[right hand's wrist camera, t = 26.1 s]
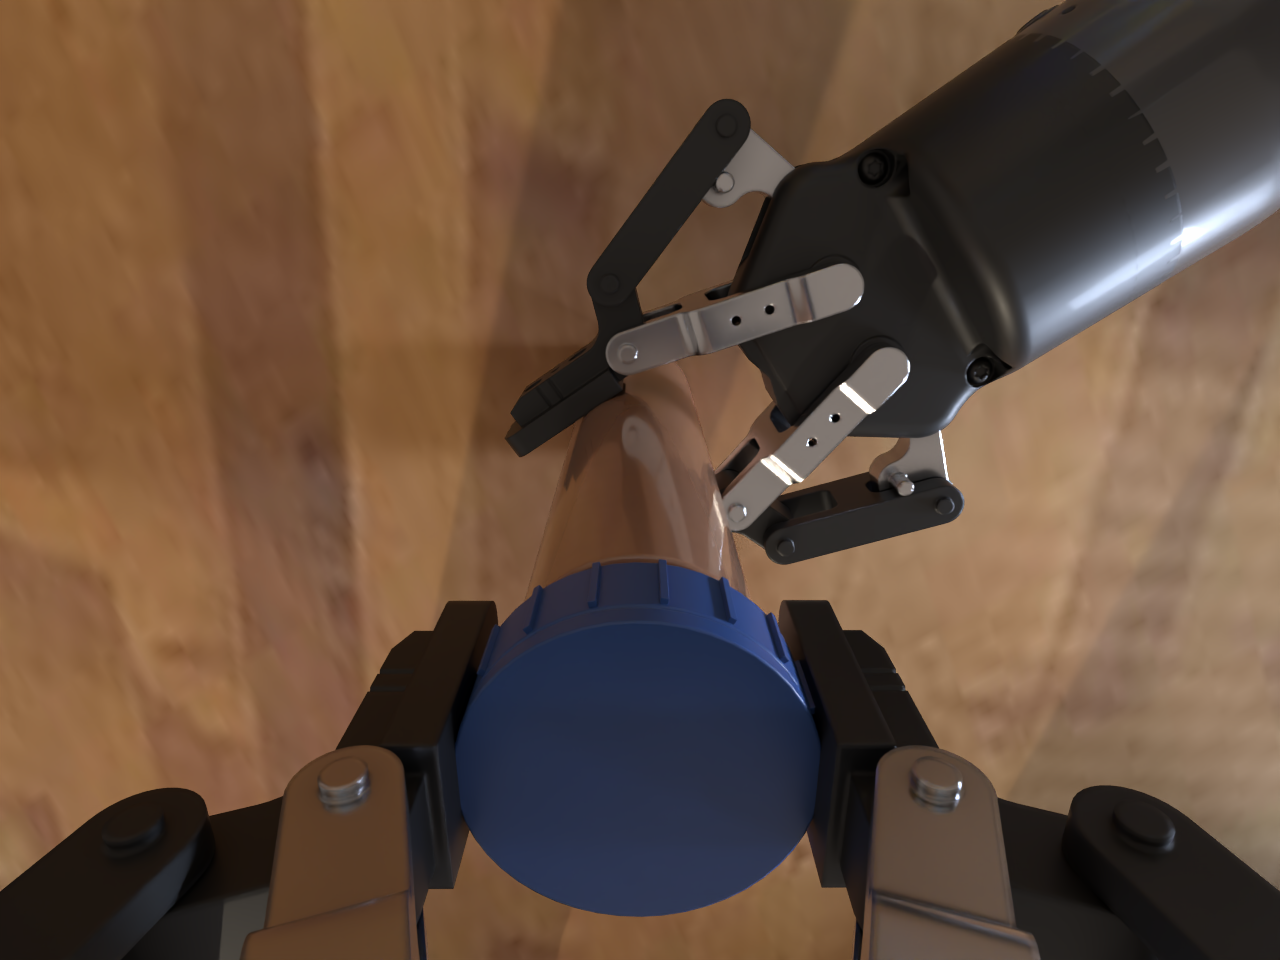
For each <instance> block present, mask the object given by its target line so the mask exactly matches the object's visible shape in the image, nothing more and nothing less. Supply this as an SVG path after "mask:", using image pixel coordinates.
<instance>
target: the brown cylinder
mask: <svg viewBox="0 0 1280 960" xmlns="http://www.w3.org/2000/svg"><path fill="white" fill-rule="evenodd" d="M659 559H663V560H666V561H667V565H672V566H678V567H682V568H686V569H689V570H693V571H696V572H700V573H702V574H705V575H707V576H709V577H712V578H714V579H716V580H720V578H721V577H724V578H726V579H728V581H729V586H730V587H732V588H733V589H735V590H737V591H738V592H740V593H742V594H743V595H744V596H745V597H747V598H748V599H749V600H751V598H750V594H749V591H748V587H747V584H746V580H745V577H744V574H743V570H742V567H741V563H740V560H739V556H738V553H737V549H736V546H735V542H734V539H733V535H732V532H731V528H730V525H729V522H728V518H727V515H726V511H725V508H724V504H723V501H722V497H721V494H720V490H719V487H718V483H717V480H716V477H715V473H714V470H713V466H712V463H711V459H710V456H709V452H708V449H707V445H706V442H705V438H704V435H703V432H702V428H701V425H700V421H699V418H698V414H697V411H696V407H695V404H694V400H693V397H692V393H691V390H690V387H689V383H688V380H687V378H686V376H685V374H684V373H683V371H682V369H681V368H680V367H679V366H678V365H677V363H675V362H674V361H673V362H670V363H667V364H664V365H661V366H658V367H655V368H652V369H649V370H646V371H643V372H640V373H637V374H634V375H629V376H627V377H626V378H624V379H623V390H622V391H621V392H619V393H618V394H616V395H615V396H613V397H612V398H610V399H609V400H607V401H606V402H604V403H602V404H600V405H599V406H597V407H596V408H594V409H593V410H592V411H591V412H589V413H588V414H586V415H585V416H583V417H582V418H580V419H579V420H578V421H576V422H575V426H574V429H573V433H572V436H571V440H570V443H569V447H568V450H567V454H566V457H565V461H564V464H563V468H562V471H561V475H560V478H559V482H558V485H557V489H556V492H555V496H554V499H553V503H552V506H551V510H550V513H549V517H548V520H547V524H546V527H545V531H544V534H543V538H542V541H541V545H540V548H539V552H538V555H537V559H536V562H535V566H534V569H533V573H532V576H531V580H530V583H529V587H528V590H527V594H526V597H525V601H526V600H527V599H528V598H530V597H531V596H532V593H533V589H534V588H535V587H537V586H538V585H540V586H541V587H542V588H545V587H546V586H548V585H550V584H552V583H554V582H556V581H558V580H560V579H562V578H565V577H567V576H569V575H572V574H575V573H578V572H581V571H584V570H587V569H590V568H592V564H593V563H596V562H600V564H601V566H605V565H610V564H618V563H632V562H641V563H658V560H659ZM525 601H524V602H525Z"/></svg>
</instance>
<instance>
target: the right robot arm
mask: <svg viewBox="0 0 1280 960" xmlns="http://www.w3.org/2000/svg"><path fill="white" fill-rule="evenodd" d="M495 624H496V625H498V617H497V609H496V605H495V602H494V601H448V602H447V604H446V606H445V608H444V610H443V612H442V614H441V616H440V618H439V620H438V622H437V624H436V626H435V628H434V631H414V632H413V633H411V634H410V635H409V636H407V637H406V638H405V639H404V640H402V641H401V642H400V643H399V644H397V645H396V646H395V647H394V648H392V649H391V651H390V653H389V655H388V656H387V658H386V660H385V662H384V664H383V665H382V667H381V669H380V674H377V676H376V678H375V680H374V681H373V683H372V685H371V687H370V692H367V694H366V696H365V698H364V699H363V701H362V703H361V705H360V707H359V708H358V710H357V712H356V714H355V716H354V717H353V719H352V721H351V723H350V724H349V726H348V728H347V730H346V732H345V733H344V735H343V737H342V739H341V741H340V742H339V744H338V746H337V748H336V750H335V751H332V752H329V753H326V754H324V755H322V756H320V757H318V758H316V759H315V760H313V761H311V762H310V763H308V764H307V765H306V766H304V767H303V768H302V769H301V770H300V771H299V772H298V773H297V774H296V775H295V776H294V777H293V778H292V779H291V781H290V782H289V783H288V785H287V787H286V789H285V791H284V795H283V796H282V797H280V798H277V799H274V800H272V801H269V802H265V803H262V804H258V805H254V806H250V807H246V808H242V809H237V810H233V811H229V812H225V813H220V814H216V815H212V816H209V815H208V811H207V807H206V804H205V802H204V800H203V799H202V797H201V796H200V795H198V794H197V793H195V792H194V791H191V790H188V789H183V788H162V789H155V790H150V791H146V792H142V793H139V794H136V795H133V796H131V797H128V798H126V799H123V800H121V801H119V802H117V803H115V804H113V805H111V806H109V807H107V808H106V809H104V810H103V811H101V812H99V813H98V814H96V815H95V816H94V817H92V818H91V819H90V820H88V821H87V822H86V823H84V824H83V825H82V826H81V827H80V828H78V829H77V830H76V831H75V832H73V833H72V834H71V835H70V836H68V837H67V838H66V839H65V840H63V841H62V842H61V843H60V844H58V845H57V846H56V847H55V848H54V849H52V850H51V851H50V852H49V853H47V854H46V855H45V856H44V857H42V858H41V859H40V860H39V861H37V862H36V863H35V864H34V865H32V866H31V867H30V868H29V869H28V870H26V871H25V872H24V873H23V874H21V875H20V876H19V877H18V878H16V879H15V880H14V881H13V882H11V883H10V884H9V885H8V886H6V887H5V888H4V889H3V890H1V891H0V960H429V959H428V946H427V933H426V925H425V918H424V911H423V905H424V902H425V899H426V895H427V892H428V889H453V888H454V885H455V881H456V877H457V874H458V870H459V866H460V863H461V859H462V855H463V852H464V848H465V844H466V841H467V837H468V833H469V830H470V829H469V828H468V826H467V824H466V822H465V820H464V818H463V815H462V811H461V803H460V794H459V785H458V776H457V766H456V756H455V742H456V738H457V735H458V731H459V728H460V724H461V721H462V718H463V715H464V713H465V710H466V707H467V704H468V701H469V698H470V695H471V692H472V689H473V686H474V684H475V681H476V678H477V675H478V674H477V671H478V668H479V665H480V662H481V659H482V656H483V653H484V650H485V648H486V645H487V642H488V639H489V636H490V633H491V630H492V628H493V627H494V625H495ZM778 627H779V630H780V633H781V634H782V636H783V638H784V640H785V641H786V643H787V645H788V647H789V649H790V651H791V653H792V656H793V659H794V661H797V660H799V662H800V664H801V667H802V670H803V673H804V676H805V679H806V682H807V685H808V688H809V690H810V693H811V696H812V699H813V702H814V705H815V713H814V714H812V716H813V719H814V722H815V725H816V728H817V731H818V734H819V736H820V740H821V752H820V763H819V772H818V781H817V791H816V800H815V809H814V817H813V819H812V821H811V823H810V825H809V827H808V828H807V834H808V838H809V841H810V845H811V849H812V853H813V856H814V860H815V864H816V868H817V872H818V875H819V879H820V883H821V887H846V888H847V891H848V895H849V898H850V901H851V905H852V908H853V911H854V915H855V917H856V918H855V926H854V934H853V947H852V960H1280V891H1278V890H1277V889H1276V888H1275V887H1274V886H1272V885H1271V884H1270V883H1269V882H1267V881H1266V880H1265V879H1264V878H1262V877H1261V876H1260V875H1259V874H1257V873H1256V872H1255V871H1254V870H1252V869H1251V868H1250V867H1249V866H1248V865H1246V864H1245V863H1244V862H1243V861H1241V860H1240V859H1239V858H1238V857H1236V856H1235V855H1234V854H1233V853H1231V852H1230V851H1229V850H1228V849H1226V848H1225V847H1224V846H1223V845H1222V844H1220V843H1219V842H1218V841H1217V840H1215V839H1214V838H1213V837H1212V836H1210V835H1209V834H1208V833H1207V832H1205V831H1204V830H1203V829H1202V828H1200V827H1199V826H1198V825H1197V824H1196V823H1194V822H1193V821H1192V820H1191V819H1189V818H1188V817H1187V816H1185V815H1184V814H1183V813H1181V812H1180V811H1178V810H1177V809H1175V808H1173V807H1172V806H1170V805H1169V804H1167V803H1165V802H1163V801H1161V800H1159V799H1157V798H1155V797H1152V796H1150V795H1147V794H1145V793H1142V792H1139V791H1136V790H1132V789H1128V788H1124V787H1118V786H1093V787H1089V788H1086V789H1083V790H1082V791H1080V792H1078V793H1077V794H1076V796H1075V797H1074V798H1073V800H1072V803H1071V806H1070V810H1069V814H1068V815H1063V814H1059V813H1055V812H1051V811H1046V810H1042V809H1038V808H1034V807H1029V806H1025V805H1021V804H1017V803H1013V802H1010V801H1006V800H1003V799H1001V798H998V797H997V795H996V791H995V789H994V787H993V785H992V783H991V782H990V781H989V779H988V778H987V777H986V776H985V775H984V774H983V773H982V772H981V771H980V770H979V769H978V768H977V767H976V766H974V765H973V764H972V763H970V762H969V761H967V760H965V759H964V758H962V757H960V756H958V755H956V754H954V753H951V752H948V751H945V750H942V749H939V747H938V745H937V743H936V742H935V740H934V738H933V736H932V734H931V732H930V731H929V729H928V727H927V725H926V723H925V722H924V720H923V718H922V716H921V714H920V712H919V711H918V709H917V707H916V705H915V703H914V702H913V700H912V698H911V696H910V694H909V692H908V691H906V690H905V685H904V683H903V682H902V680H901V678H900V676H899V674H898V673H896V669H895V667H894V665H893V663H892V662H891V660H890V658H889V656H888V654H887V652H886V651H885V649H884V648H883V647H882V646H881V645H879V644H878V643H877V642H876V641H874V640H873V639H872V638H871V637H869V636H868V635H867V634H866V633H864V632H863V631H862V630H842V628H841V626H840V624H839V622H838V620H837V618H836V615H835V613H834V611H833V609H832V607H831V605H830V603H829V602H828V601H827V600H783V601H782V602H781V605H780V611H779V622H778Z"/></svg>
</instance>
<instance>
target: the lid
mask: <svg viewBox="0 0 1280 960" xmlns="http://www.w3.org/2000/svg"><path fill="white" fill-rule="evenodd" d="M477 674H478V675H477V678H476V681H475V684H474V686H473V689H472V692H471V695H470V698H469V701H468V704H467V707H466V710H465V713H464V715H463V718H462V721H461V724H460V728H459V731H458V735H457V738H456V742H455V756H456V766H457V776H458V785H459V794H460V803H461V811H462V815H463V818H464V820H465V822H466V824H467V826H468V828H469V829H470V831H471V833H472V835H473V836H474V838H475V840H476V841H477V842H478V843H479V845H480V846H481V847H482V849H483V850H484V851H485V852H486V854H487V855H488V856H489V857H490V858H491V859H492V860H493V861H494V862H495V863H496V864H497V865H498V866H499V867H500V868H501V869H503V870H504V871H505V872H506V873H508V874H509V875H510V876H512V877H513V878H514V879H516V880H517V881H518V882H520V883H522V884H523V885H525V886H527V887H528V888H530V889H532V890H533V891H535V892H537V893H539V894H541V895H543V896H545V897H548V898H550V899H552V900H554V901H556V902H559V903H562V904H565V905H568V906H571V907H574V908H578V909H582V910H586V911H591V912H595V913H601V914H608V915H616V916H636V917H645V916H661V915H669V914H675V913H681V912H687V911H691V910H695V909H698V908H702V907H706V906H709V905H712V904H714V903H717V902H720V901H722V900H725V899H727V898H729V897H731V896H733V895H735V894H737V893H739V892H741V891H743V890H745V889H747V888H749V887H750V886H752V885H753V884H755V883H756V882H758V881H759V880H761V879H763V878H764V877H765V876H766V875H768V874H769V873H770V872H771V871H772V870H774V869H775V868H776V867H777V866H778V865H780V864H781V863H782V861H783V860H784V859H785V858H786V857H787V856H788V855H789V854H790V853H791V852H792V851H793V850H794V848H795V847H796V845H797V844H798V843H799V841H800V840H801V838H802V837H803V836H804V834H805V832H806V830H807V828H808V827H809V825H810V823H811V821H812V819H813V817H814V809H815V800H816V791H817V781H818V772H819V763H820V752H821V740H820V736H819V734H818V731H817V728H816V725H815V722H814V719H813V716H812V714H814V713H815V705H814V702H813V699H812V696H811V693H810V690H809V688H808V685H807V682H806V679H805V676H804V673H803V670H802V667H801V664H800V662H799V660H797V661H794V659H793V656H792V653H791V651H790V649H789V647H788V645H787V643H786V641H785V640H784V638H783V636H782V634H781V633H780V630H779V627H778V624H777V621H776V617H775V616H774V615H773V614H772V613H769V614H768V615H766V614H765V613H764V612H763V611H762V610H761V609H760V608H759V607H758V606H757V605H756V604H754V603H753V602H752V601H751V600H749V599H748V598H747V597H745V596H744V595H743V594H742V593H740V592H738V591H737V590H735V589H733V588H732V587H730V586H729V581H728V579H726V578H724V577H721V578H720V580H716V579H714V578H712V577H709V576H707V575H705V574H702V573H700V572H696V571H693V570H689V569H686V568H682V567H678V566H672V565H667V561H666V560H663V559H659V560H658V563H641V562H632V563H618V564H610V565H605V566H601V564H600V562H596V563H593V564H592V568H590V569H587V570H584V571H581V572H578V573H575V574H572V575H569V576H567V577H565V578H562V579H560V580H558V581H556V582H554V583H552V584H550V585H548V586H546V587H545V588H542V587H541V586H540V585H538V586H537V587H535V588H534V589H533V593H532V596H531V597H530V598H528V599H527V600H526V601H525V602H524V603H522V604H521V605H520V606H519V607H518V608H517V609H515V610H514V612H513V613H512V614H511V615H510V616H509V617H508V618H507V619H506V620H505V622H504V623H503V624H502V625H501V627H500V626H498V625H496V624H495V625H494V627H493V628H492V630H491V633H490V636H489V639H488V642H487V645H486V648H485V650H484V653H483V656H482V659H481V662H480V665H479V668H478V671H477Z"/></svg>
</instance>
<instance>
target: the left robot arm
mask: <svg viewBox="0 0 1280 960" xmlns="http://www.w3.org/2000/svg"><path fill="white" fill-rule="evenodd" d="M748 192H757V193H760V194H762V195H763V196H765V197H766V198H765V200H764V203H763V206H762V208H761V211H760V213H759V216H758V218H757V221H756V223H755V226H754V228H753V231H752V234H751V236H750V239H749V241H748V244H747V246H746V249H745V251H744V254H743V257H742V259H741V262H740V264H739V267H738V269H737V272H736V274H735V277H734V279H733V280H731V281H728V282H725V283H722V284H719V285H716V286H713V287H710V288H707V289H704V290H701V291H698V292H695V293H692V294H689V295H687V296H684V297H682V298H680V299H678V300H677V301H675V302H672V303H669V304H666V305H664V306H661V307H658V308H655V309H652V310H649V311H646V312H643V313H642V310H641V306H640V302H639V298H638V294H637V290H636V286H637V285H638V284H639V282H640V281H641V280H642V278H643V277H644V276H645V274H646V273H647V272H648V270H649V269H650V268H651V266H652V265H653V264H654V262H655V261H656V260H657V258H658V257H659V256H660V255H661V253H662V252H663V251H664V249H665V248H666V247H667V245H668V244H669V243H670V241H671V240H672V239H673V237H674V236H675V235H676V233H677V232H678V231H679V229H680V228H681V227H682V225H683V224H684V223H685V221H686V220H687V219H688V217H689V216H690V215H691V213H692V212H693V211H694V209H695V208H696V207H697V205H698V204H699V203H700V201H702V202H704V203H705V204H706V205H708V206H711V207H716V208H723V207H728V206H730V205H732V204H734V203H735V202H736V201H737V200H738V199H739V198H740V197H741V196H743V195H744V194H746V193H748ZM1278 209H1280V0H1066V1H1065V2H1063V3H1062V4H1060V5H1056V6H1054V7H1052V8H1050V9H1049V10H1045V11H1043V12H1041V13H1040V14H1038V15H1037V16H1035V17H1034V18H1033V19H1031V20H1030V21H1029V22H1028V23H1026V24H1025V25H1024V26H1023V27H1022V28H1021V29H1020V30H1019V31H1018V32H1017V34H1016V35H1015V36H1014V37H1013V38H1012V39H1010V40H1008V41H1007V42H1006V43H1004V44H1003V45H1001V46H1000V47H998V48H997V49H995V50H994V51H993V52H991V53H990V54H988V55H987V56H985V57H984V58H983V59H981V60H980V61H978V62H977V63H975V64H974V65H972V66H971V67H970V68H968V69H967V70H965V71H964V72H962V73H961V74H960V75H958V76H957V77H955V78H954V79H952V80H951V81H950V82H948V83H947V84H945V85H944V86H942V87H941V88H940V89H938V90H937V91H935V92H934V93H932V94H931V95H929V96H928V97H927V98H925V99H924V100H922V101H921V102H919V103H918V104H917V105H915V106H914V107H912V108H911V109H909V110H908V111H906V112H905V113H904V114H902V115H901V116H899V117H898V118H896V119H895V120H894V121H892V122H891V123H889V124H888V125H886V126H885V127H883V128H882V129H881V130H879V131H878V132H876V133H875V134H873V135H872V136H871V137H869V138H868V139H866V140H865V141H863V142H862V143H860V144H859V145H858V146H856V147H855V148H853V149H852V150H850V151H849V152H847V153H845V154H844V155H842V156H840V157H838V158H835V159H833V160H830V161H825V162H812V163H807V164H804V165H799V166H796V167H793V166H792V165H791V164H790V163H789V162H788V161H787V160H786V159H784V158H783V157H782V156H781V155H780V154H779V153H778V152H777V151H775V150H774V149H773V148H772V147H771V146H770V145H769V144H768V143H767V142H765V141H764V140H763V139H762V138H761V137H760V136H759V135H758V134H756V133H755V132H754V131H753V130H752V129H751V121H750V116H749V114H748V112H747V110H746V108H745V107H744V106H743V105H742V104H741V103H739V102H738V101H735V100H732V99H722V100H719V101H717V102H715V103H713V104H712V105H711V106H710V107H709V108H708V109H707V111H706V112H705V113H704V115H703V116H702V117H701V119H700V120H699V121H698V123H697V124H696V125H695V127H694V128H693V129H692V131H691V132H690V134H689V135H688V136H687V138H686V139H685V140H684V142H683V143H682V145H681V146H680V147H679V149H678V150H677V151H676V153H675V154H674V156H673V157H672V158H671V160H670V161H669V162H668V164H667V165H666V167H665V168H664V169H663V171H662V172H661V173H660V175H659V176H658V178H657V179H656V180H655V182H654V183H653V184H652V186H651V187H650V189H649V190H648V191H647V193H646V194H645V195H644V197H643V198H642V200H641V201H640V202H639V204H638V205H637V206H636V208H635V209H634V211H633V212H632V213H631V215H630V216H629V217H628V219H627V220H626V222H625V223H624V224H623V226H622V227H621V228H620V230H619V231H618V233H617V234H616V235H615V237H614V238H613V239H612V241H611V242H610V244H609V245H608V246H607V248H606V249H605V250H604V252H603V253H602V255H601V256H600V257H599V259H598V260H597V261H596V263H595V264H594V266H593V267H592V269H591V270H590V272H589V274H588V278H587V289H588V292H589V294H590V296H591V298H592V301H593V305H594V309H595V313H596V316H597V320H598V325H599V332H598V334H597V336H596V337H595V339H594V340H593V341H592V342H590V343H589V344H588V345H586V346H585V347H583V348H582V349H580V350H579V351H578V352H576V353H575V354H573V355H572V356H570V357H569V358H567V359H566V360H565V361H563V362H562V363H560V364H559V365H557V366H556V367H554V368H553V369H552V370H550V371H549V372H547V373H546V374H544V375H543V376H542V377H540V378H538V379H537V380H536V381H534V382H533V383H531V384H530V385H528V386H527V387H526V389H525V390H524V392H523V393H522V395H521V396H520V398H519V400H518V401H517V403H516V405H515V406H514V408H513V410H512V411H511V415H512V416H513V417H514V419H515V420H516V421H515V422H514V423H513V424H512V426H511V427H510V429H509V431H508V433H507V435H506V436H505V439H506V441H507V442H508V443H509V444H510V446H511V447H512V448H513V450H514V451H515V452H516V453H517V455H518V456H519V457H522V456H525V455H526V454H528V453H530V452H531V451H533V450H534V449H536V448H537V447H539V446H540V445H542V444H543V443H545V442H546V441H548V440H549V439H551V438H552V437H554V436H555V435H557V434H558V433H560V432H561V431H563V430H564V429H566V428H567V427H569V426H570V425H572V424H573V423H575V422H576V421H578V420H579V419H580V418H582V417H583V416H585V415H586V414H588V413H589V412H591V411H592V410H593V409H594V408H596V407H597V406H599V405H600V404H602V403H604V402H606V401H607V400H609V399H610V398H612V397H613V396H615V395H616V394H618V393H619V392H621V391H622V390H623V379H624V378H626V377H627V376H629V375H634V374H637V373H640V372H643V371H646V370H649V369H652V368H655V367H658V366H661V365H664V364H667V363H670V362H673V361H676V360H680V359H683V358H686V357H689V356H693V355H705V354H709V353H713V352H716V351H719V350H722V349H725V348H728V347H731V346H734V345H737V344H738V346H739V347H740V348H741V350H742V351H743V352H744V354H745V355H746V356H747V358H748V359H749V360H750V361H751V362H752V363H753V364H754V365H756V366H757V367H758V368H759V369H760V371H761V374H762V377H763V381H764V384H765V388H766V390H767V391H768V393H769V395H770V396H771V398H772V399H773V401H772V402H771V403H770V405H769V406H768V407H767V408H766V409H765V410H764V411H763V412H762V413H761V414H760V415H759V417H758V418H757V419H756V420H755V421H754V423H753V424H752V426H751V428H750V431H749V433H748V435H747V436H746V437H745V439H744V440H743V441H742V442H741V443H740V444H739V445H738V446H737V447H736V448H735V449H734V450H733V452H732V453H731V454H730V455H729V456H728V457H727V458H726V459H725V460H724V461H723V462H722V463H721V465H720V466H719V467H718V468H717V469H716V470H715V471H714V473H715V477H716V480H717V483H718V487H719V490H720V494H721V497H722V501H723V504H724V508H725V511H726V515H727V518H728V522H729V525H730V528H731V532H735V533H740V534H742V535H744V536H746V537H747V538H749V539H750V540H752V541H753V542H755V543H756V544H758V545H759V546H761V547H762V548H764V549H765V551H766V554H767V556H768V557H769V558H770V559H771V560H772V561H773V562H775V563H777V564H782V565H786V564H791V563H795V562H799V561H803V560H806V559H810V558H814V557H818V556H822V555H826V554H830V553H833V552H837V551H841V550H845V549H849V548H853V547H857V546H860V545H864V544H868V543H872V542H876V541H880V540H884V539H887V538H891V537H895V536H899V535H903V534H907V533H911V532H914V531H918V530H922V529H926V528H930V527H934V526H937V525H941V524H945V523H948V522H951V521H953V520H954V519H956V518H957V517H958V516H959V515H960V514H961V512H962V510H963V508H964V497H963V495H962V493H961V492H960V491H959V490H958V489H957V488H956V487H955V486H953V484H952V483H951V482H950V481H949V479H948V476H947V469H946V463H945V456H944V450H943V443H942V437H941V430H942V429H944V428H945V427H946V426H947V425H948V424H949V423H950V422H951V421H952V420H953V419H954V417H955V416H956V414H957V413H958V411H959V410H960V408H961V407H962V405H963V404H964V403H965V402H966V401H967V399H968V398H969V397H970V396H971V395H972V394H973V393H974V392H976V391H977V390H978V389H980V388H981V387H983V386H985V385H987V384H989V383H991V382H993V381H995V380H997V379H1000V378H1002V377H1004V376H1006V375H1009V374H1011V373H1013V372H1015V371H1017V370H1019V369H1020V368H1022V367H1024V366H1025V365H1027V364H1029V363H1030V362H1032V361H1034V360H1035V359H1037V358H1039V357H1040V356H1042V355H1043V354H1045V353H1047V352H1048V351H1050V350H1052V349H1053V348H1055V347H1057V346H1058V345H1060V344H1062V343H1063V342H1065V341H1067V340H1068V339H1070V338H1072V337H1073V336H1075V335H1077V334H1078V333H1080V332H1082V331H1083V330H1085V329H1087V328H1088V327H1090V326H1092V325H1093V324H1095V323H1097V322H1098V321H1100V320H1101V319H1103V318H1105V317H1106V316H1108V315H1110V314H1111V313H1113V312H1115V311H1116V310H1118V309H1120V308H1121V307H1123V306H1125V305H1126V304H1128V303H1130V302H1131V301H1133V300H1135V299H1136V298H1138V297H1140V296H1141V295H1143V294H1145V293H1146V292H1148V291H1150V290H1151V289H1153V288H1155V287H1156V286H1158V285H1159V284H1161V283H1162V282H1164V281H1166V280H1167V279H1169V278H1171V277H1172V276H1174V275H1176V274H1177V273H1179V272H1181V271H1182V270H1184V269H1186V268H1187V267H1189V266H1191V265H1192V264H1194V263H1196V262H1197V261H1199V260H1201V259H1202V258H1204V257H1206V256H1207V255H1209V254H1211V253H1213V252H1214V251H1216V250H1218V249H1219V248H1221V247H1223V246H1224V245H1226V244H1228V243H1229V242H1231V241H1233V240H1234V239H1236V238H1238V237H1239V236H1241V235H1242V234H1244V233H1246V232H1247V231H1249V230H1250V229H1252V228H1253V227H1255V226H1256V225H1258V224H1259V223H1261V222H1262V221H1264V220H1265V219H1266V218H1268V217H1269V216H1270V215H1272V214H1273V213H1274V212H1276V211H1277V210H1278ZM846 436H854V437H892V438H899V439H898V442H897V443H896V445H895V446H894V447H893V448H892V449H891V450H889V451H888V452H886V453H883V454H881V455H879V456H878V457H877V458H875V459H874V461H873V462H872V464H871V466H870V469H869V472H866V473H862V474H858V475H855V476H851V477H847V478H844V479H840V480H836V481H832V482H829V483H825V484H821V485H817V486H814V487H810V488H806V489H803V490H799V491H795V492H791V493H788V494H784V495H780V494H781V493H782V492H783V491H784V490H785V489H786V488H787V487H788V486H790V485H791V484H794V483H799V482H801V481H803V480H804V479H805V478H806V477H807V476H808V475H809V474H810V473H811V472H812V471H813V470H814V469H815V468H816V467H817V466H818V465H819V464H820V463H821V462H822V461H823V460H824V459H825V458H826V457H827V456H828V455H829V454H830V453H831V452H832V451H833V450H834V449H835V448H836V447H837V446H838V445H839V444H840V443H841V442H842V441H843V440H844V438H845V437H846ZM811 438H813V439H812V440H811V441H809V439H811ZM779 495H780V496H779Z"/></svg>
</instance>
